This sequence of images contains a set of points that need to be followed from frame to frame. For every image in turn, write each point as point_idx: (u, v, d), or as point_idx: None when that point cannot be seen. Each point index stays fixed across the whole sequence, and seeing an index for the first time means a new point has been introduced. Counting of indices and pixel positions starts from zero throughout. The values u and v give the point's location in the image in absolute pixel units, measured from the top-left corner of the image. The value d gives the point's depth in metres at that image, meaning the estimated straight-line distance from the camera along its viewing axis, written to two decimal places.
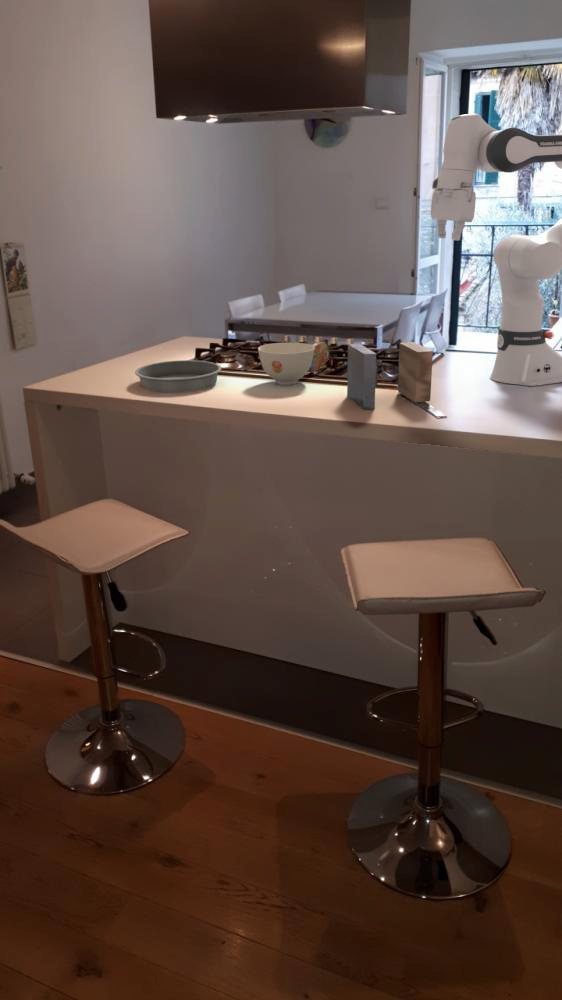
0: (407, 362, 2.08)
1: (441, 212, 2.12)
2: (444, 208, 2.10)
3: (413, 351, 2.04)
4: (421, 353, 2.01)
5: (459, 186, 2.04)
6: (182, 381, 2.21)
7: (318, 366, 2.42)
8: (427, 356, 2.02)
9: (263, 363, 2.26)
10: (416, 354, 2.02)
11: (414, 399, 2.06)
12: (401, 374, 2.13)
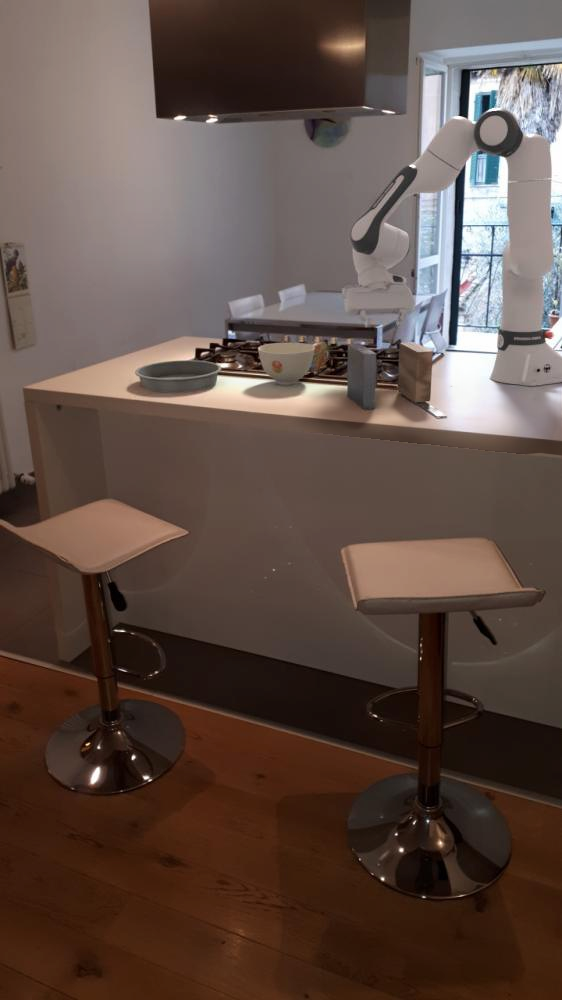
0: (407, 362, 2.08)
1: None
2: None
3: (413, 351, 2.04)
4: (421, 353, 2.01)
5: None
6: (182, 381, 2.21)
7: (318, 366, 2.42)
8: (427, 356, 2.02)
9: (263, 363, 2.26)
10: (416, 354, 2.02)
11: (414, 399, 2.06)
12: (401, 374, 2.13)
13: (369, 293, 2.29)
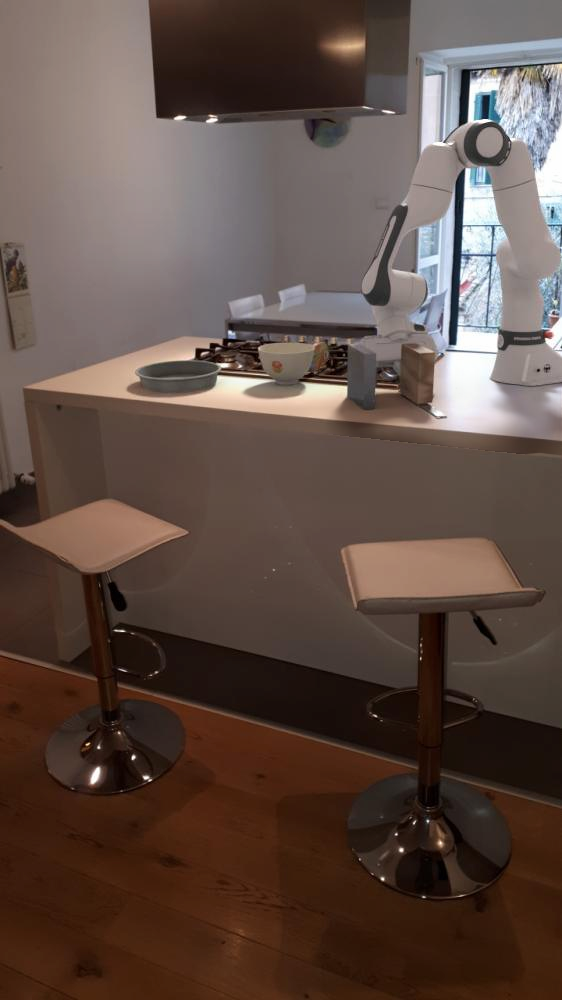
0: (409, 363, 2.07)
1: None
2: None
3: (415, 352, 2.02)
4: (423, 354, 2.00)
5: None
6: (182, 381, 2.21)
7: (318, 366, 2.42)
8: (429, 357, 2.00)
9: (263, 363, 2.26)
10: (418, 355, 2.00)
11: (416, 400, 2.05)
12: (403, 375, 2.12)
13: (389, 344, 2.17)
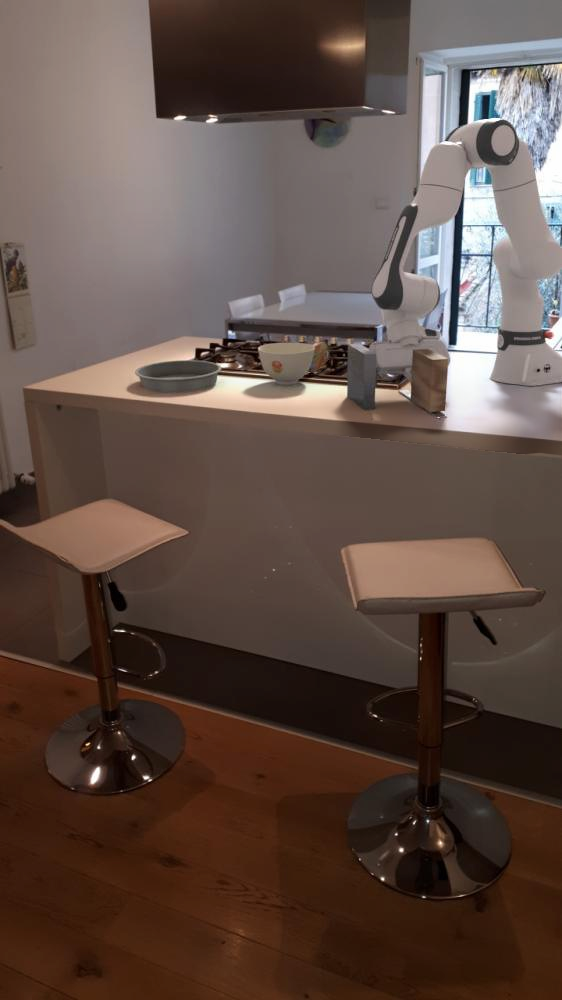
0: (421, 370, 2.00)
1: None
2: None
3: (427, 358, 1.95)
4: (436, 361, 1.92)
5: None
6: (182, 381, 2.21)
7: (318, 366, 2.42)
8: (442, 364, 1.93)
9: (263, 363, 2.26)
10: (431, 362, 1.93)
11: (428, 409, 1.97)
12: (414, 382, 2.05)
13: (399, 349, 2.10)
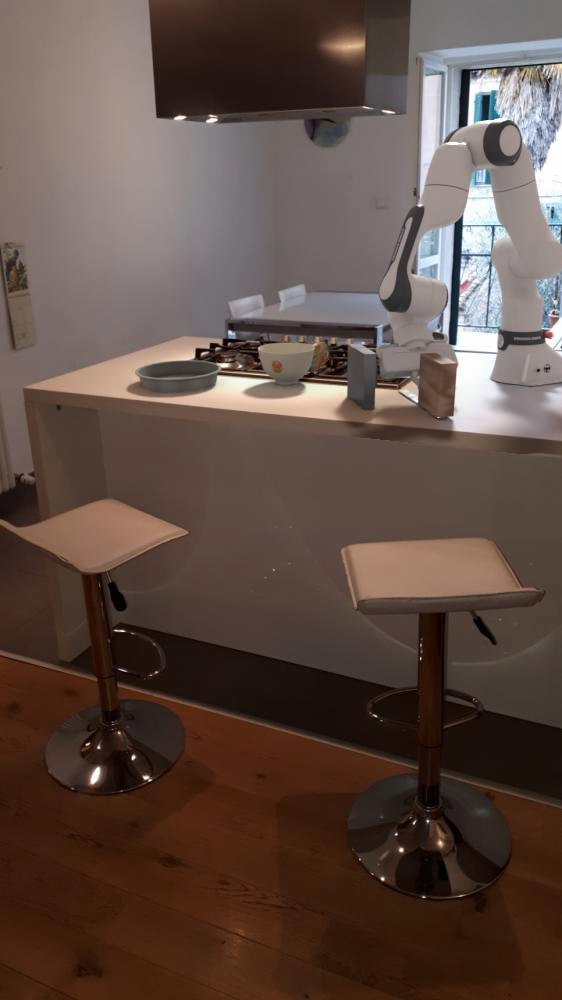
0: (429, 374, 1.95)
1: None
2: None
3: (436, 363, 1.90)
4: (445, 365, 1.88)
5: None
6: (182, 381, 2.21)
7: (318, 366, 2.42)
8: (451, 368, 1.88)
9: (263, 363, 2.26)
10: (439, 366, 1.88)
11: (436, 414, 1.93)
12: (422, 387, 2.00)
13: (406, 353, 2.05)
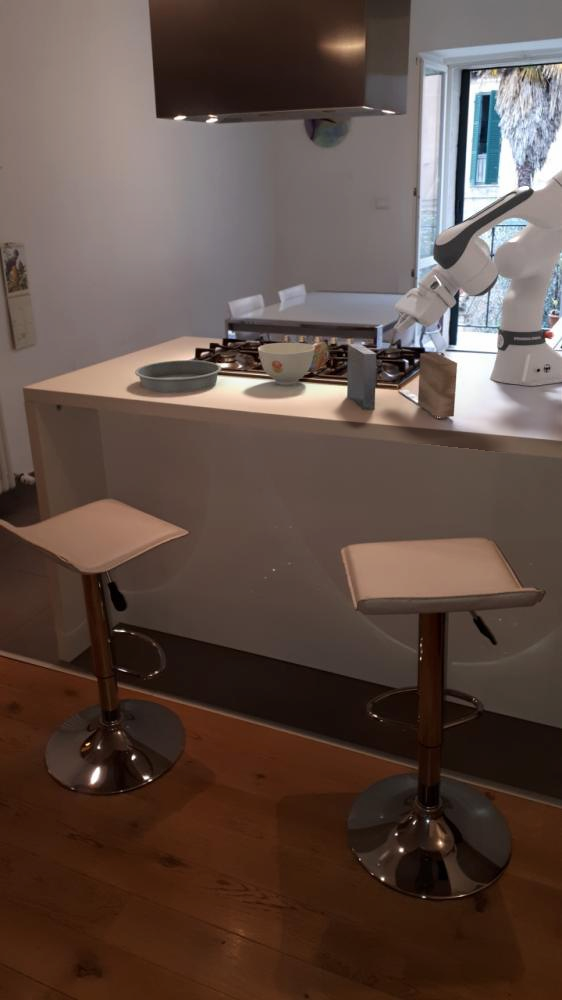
0: (429, 374, 1.95)
1: None
2: None
3: (436, 363, 1.90)
4: (445, 365, 1.88)
5: None
6: (182, 381, 2.21)
7: (318, 366, 2.42)
8: (451, 368, 1.88)
9: (263, 363, 2.26)
10: (439, 366, 1.88)
11: (436, 414, 1.93)
12: (422, 387, 2.00)
13: (415, 296, 2.08)
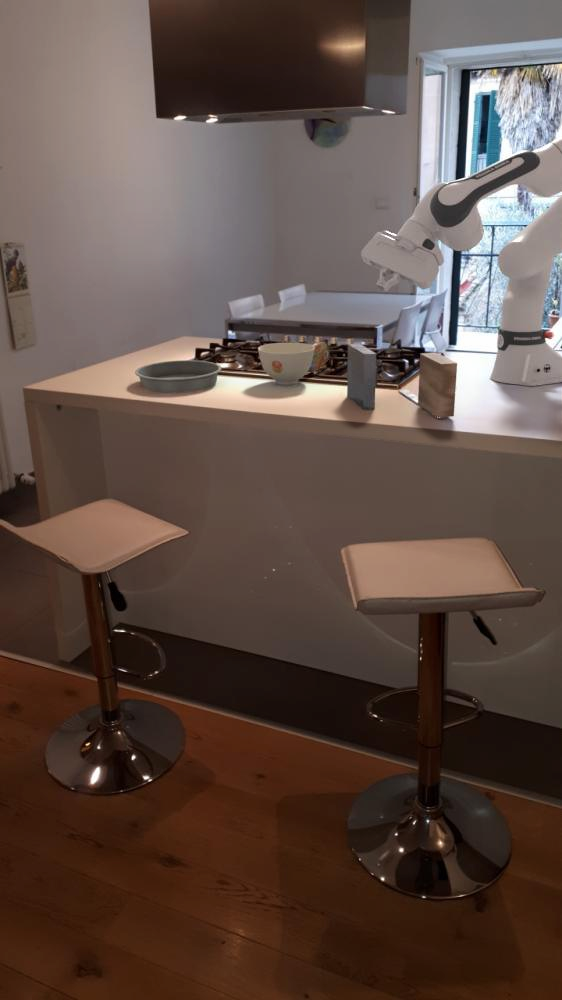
0: (429, 374, 1.95)
1: None
2: None
3: (436, 363, 1.90)
4: (445, 365, 1.88)
5: None
6: (182, 381, 2.21)
7: (318, 366, 2.42)
8: (451, 368, 1.88)
9: (263, 363, 2.26)
10: (439, 366, 1.88)
11: (436, 414, 1.93)
12: (422, 387, 2.00)
13: (392, 248, 1.99)
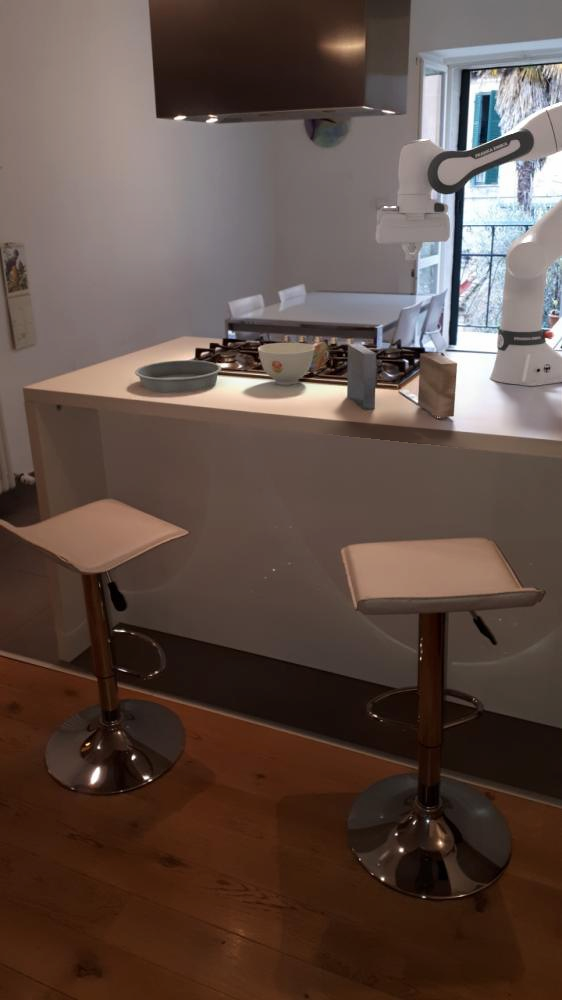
0: (429, 374, 1.95)
1: None
2: None
3: (436, 363, 1.90)
4: (445, 365, 1.88)
5: None
6: (182, 381, 2.21)
7: (318, 366, 2.42)
8: (451, 368, 1.88)
9: (263, 363, 2.26)
10: (439, 366, 1.88)
11: (436, 414, 1.93)
12: (422, 387, 2.00)
13: (404, 222, 2.15)
